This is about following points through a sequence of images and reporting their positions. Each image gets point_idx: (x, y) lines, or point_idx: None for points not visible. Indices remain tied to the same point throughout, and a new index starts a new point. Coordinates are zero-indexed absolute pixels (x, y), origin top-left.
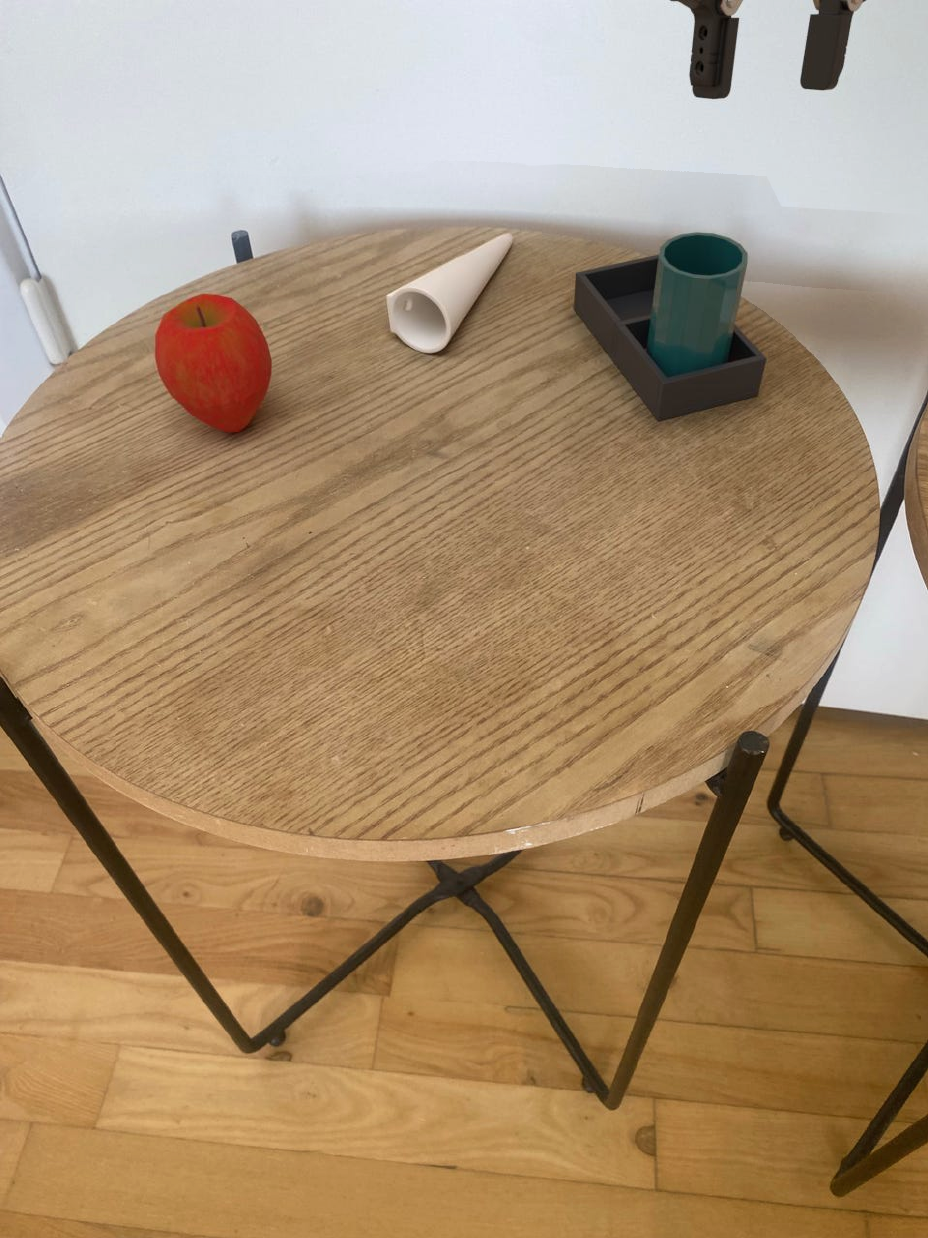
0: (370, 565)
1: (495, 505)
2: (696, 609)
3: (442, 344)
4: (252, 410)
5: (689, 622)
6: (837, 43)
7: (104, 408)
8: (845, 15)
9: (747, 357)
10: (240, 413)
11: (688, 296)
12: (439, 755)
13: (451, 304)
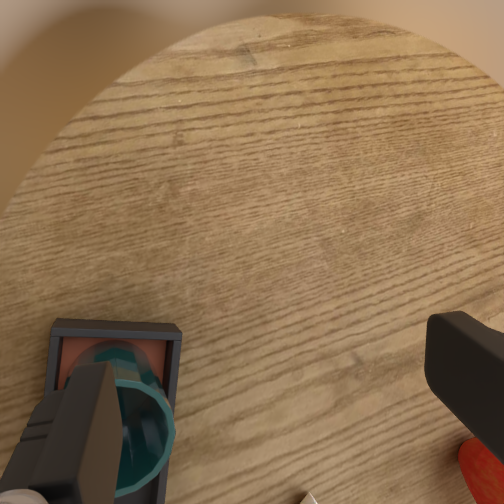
0: (434, 266)
1: (343, 284)
2: (269, 114)
3: (311, 495)
4: (477, 440)
5: (280, 106)
6: (91, 415)
7: None
8: (57, 476)
9: (59, 349)
10: None
11: (157, 385)
12: (452, 105)
13: None
